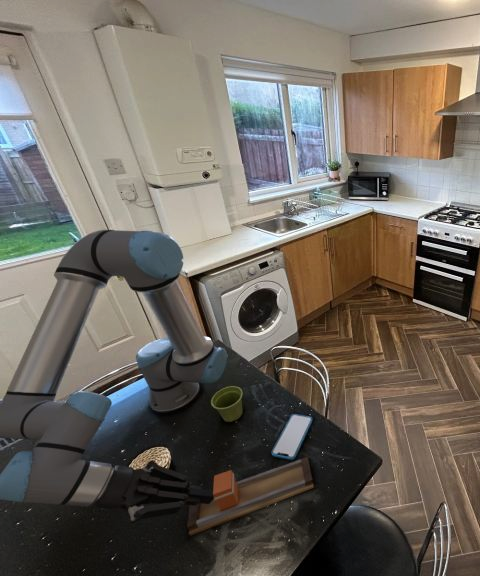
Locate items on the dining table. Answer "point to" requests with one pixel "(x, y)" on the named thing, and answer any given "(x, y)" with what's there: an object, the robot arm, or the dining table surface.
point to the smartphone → (292, 437)
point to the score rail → (254, 495)
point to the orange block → (225, 490)
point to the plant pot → (228, 403)
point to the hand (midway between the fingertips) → (212, 497)
